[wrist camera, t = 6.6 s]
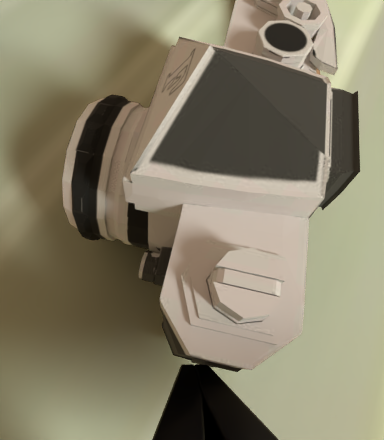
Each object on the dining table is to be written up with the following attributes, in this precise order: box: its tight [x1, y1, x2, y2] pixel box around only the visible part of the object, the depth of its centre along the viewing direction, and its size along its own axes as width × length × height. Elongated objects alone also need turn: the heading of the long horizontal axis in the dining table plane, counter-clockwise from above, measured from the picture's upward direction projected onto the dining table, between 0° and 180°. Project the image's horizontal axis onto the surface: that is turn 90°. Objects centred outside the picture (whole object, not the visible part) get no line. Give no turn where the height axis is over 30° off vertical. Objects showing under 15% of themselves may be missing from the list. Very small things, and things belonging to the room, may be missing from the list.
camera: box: [62, 0, 360, 372], centre depth 12 cm, size 16×9×10 cm, turn 167°
